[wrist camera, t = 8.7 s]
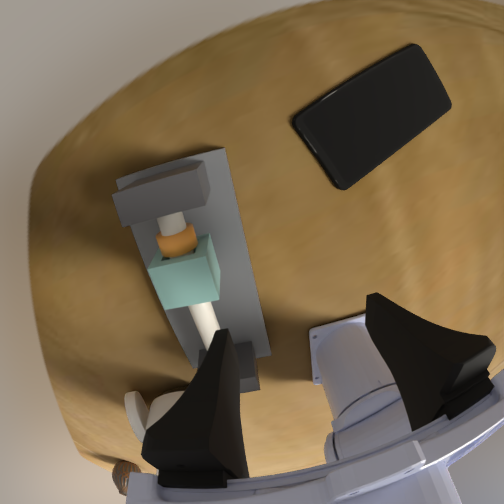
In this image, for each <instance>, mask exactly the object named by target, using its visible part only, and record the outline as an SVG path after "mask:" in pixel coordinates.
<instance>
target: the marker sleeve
mask: <svg viewBox="0 0 504 504" xmlns="http://www.w3.org/2000/svg"><path fill="white" fill-rule="evenodd" d="M196 237H197V241H198V245H197V246H196V247H195V248H194V253H195V254H191V255H186V256H182V257H178V258H173V259H170V257H164V256H162V253H161V251H160V248H158V250H157V252H156V254H155V256H154V258H153V259H152V261H151V263H150V265H149V267H148V272H149V274H150V277H151V279H152V282H153V284H154V286H155V289H156V291H157V293H158V296H159V298H160V300H161V303H162V305H163V307H164V309H165V310H167V309H173V308H179V307H184V306H190V305H195V304H200V303H206V302H211V301H216V300H219V296H220V268H219V264H218V261H217V257H216V254H215V250H214V247H213V243H212V240H211V236H210V233H207V234H203V235H199V236H196Z"/></svg>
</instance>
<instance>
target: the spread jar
mask: <svg viewBox="0 0 504 504" xmlns="http://www.w3.org/2000/svg"><path fill="white" fill-rule="evenodd" d="M186 389H187V387H179V388H174V389H171V390H168V391H166V392H164V393H162V394H161V395H159V396H158V397H157V398H155V399H154V400H153V402H152V404H151V406H150V409H149V411H148V409H147V406H146V404H145V402H144V400H143V398H142V396H141V394H140V393H139V392H138V391H132V392H127V393H126V394H125V398H124V400H125V408H126V413H127V416H128V419H129V422H130V425H131V427H132V429H133V431H134V433H135V435H136V437H137V438H138V439H139V441H140V442H142V443H143V440H144V436H145V433H146V430H147V429H148V428H149V427H150V426H152V425H153V424H154V423H155V422H157V421H158V420H159V419H160V418H161V417H162V416H163V415H164V414H165V413H166V412H167V411H168V410H169V409H170V408H171V407H172V406H173V405H174V404H175V403H176V401H177V400H178V399H179V398H180V397H181V395H182V394H183V393H184V391H185V390H186ZM158 473H159V470H158V469H157V473H156V475H158Z"/></svg>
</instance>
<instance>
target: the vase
mask: <svg viewBox="0 0 504 504" xmlns="http://www.w3.org/2000/svg"><path fill="white" fill-rule="evenodd" d="M130 472H140V473H142V472H141V470H140V469H139V467H138V466H137V465H135V464H133V463H131V462H127V461H120V462H118V463H117V464H116V465H115V466H114V468H113V472H112V478H113V481H114V483H115V485H116V486H117V488H118V490H119V493H120V494H122V495H125V496H127V490H128V482H129V475H130Z"/></svg>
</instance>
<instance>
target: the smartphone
mask: <svg viewBox="0 0 504 504" xmlns="http://www.w3.org/2000/svg"><path fill="white" fill-rule="evenodd" d="M451 106H452V104H451V101H450V98H449V96H448V94H447V92H446V90H445V88H444V86H443V84H442V82H441V80H440V79H439V77H438V75H437V73H436V71H435V70H434V68H433V66H432V64H431V63H430V61H429V59H428V58H427V56H426V54H425V53H424V51H423V50H422V48H421V47H420V46H419V45H417V44H412V45H409V46H407V47H405V48H403V49H401V50H400V51H398V52H396V53H394V54H392V55H390V56H388V57H387V58H385V59H383V60H381V61H379V62H378V63H376V64H374V65H372V66H371V67H369V68H367V69H365V70H364V71H362V72H360V73H359V74H357V75H355V76H354V77H352V78H351V79H349V80H347V81H346V82H344V83H342V84H341V85H339V86H338V87H336V88H335V89H333V90H331V91H330V92H328V93H327V94H325V95H324V96H322V97H321V98H319V99H318V100H316V101H315V102H313V103H312V104H310V105H309V106H308V107H306V108H305V109H303V110H302V111H300V112H299V113H298V114H296V115H295V116H294V117H293V119H292V125H293V127H294V128H295V130H296V131H297V133H298V134H299V135H300V137H301V138H302V139H303V141H304V142H305V143H306V145H307V146H308V147H309V149H310V150H311V151H312V153H313V154H314V156H315V157H316V158H317V160H318V161H319V163H320V164H321V166H322V167H323V168H324V170H325V171H326V173H327V174H328V176H329V177H330V179H331V180H332V182H333V183H334V185H335V186H336V187H337V188H338V189H340V190H347V189H348V188H350V187H351V186H352V185H354V184H355V183H356V182H358V181H359V180H360V179H361V178H363V177H364V176H365V175H367V174H368V173H369V172H371V171H372V170H373V169H374V168H376V167H377V166H378V165H380V164H381V163H382V162H383V161H385V160H386V159H387V158H389V157H390V156H391V155H393V154H394V153H395V152H396V151H398V150H399V149H400V148H402V147H403V146H404V145H405V144H407V143H408V142H409V141H411V140H412V139H413V138H414V137H416V136H417V135H418V134H420V133H421V132H422V131H423V130H425V129H426V128H427V127H428V126H430V125H431V124H432V123H434V122H435V121H436V120H437V119H439V118H440V117H441V116H442V115H444V114H445V113H446V112H447V111H449V110H450V109H451Z"/></svg>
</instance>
